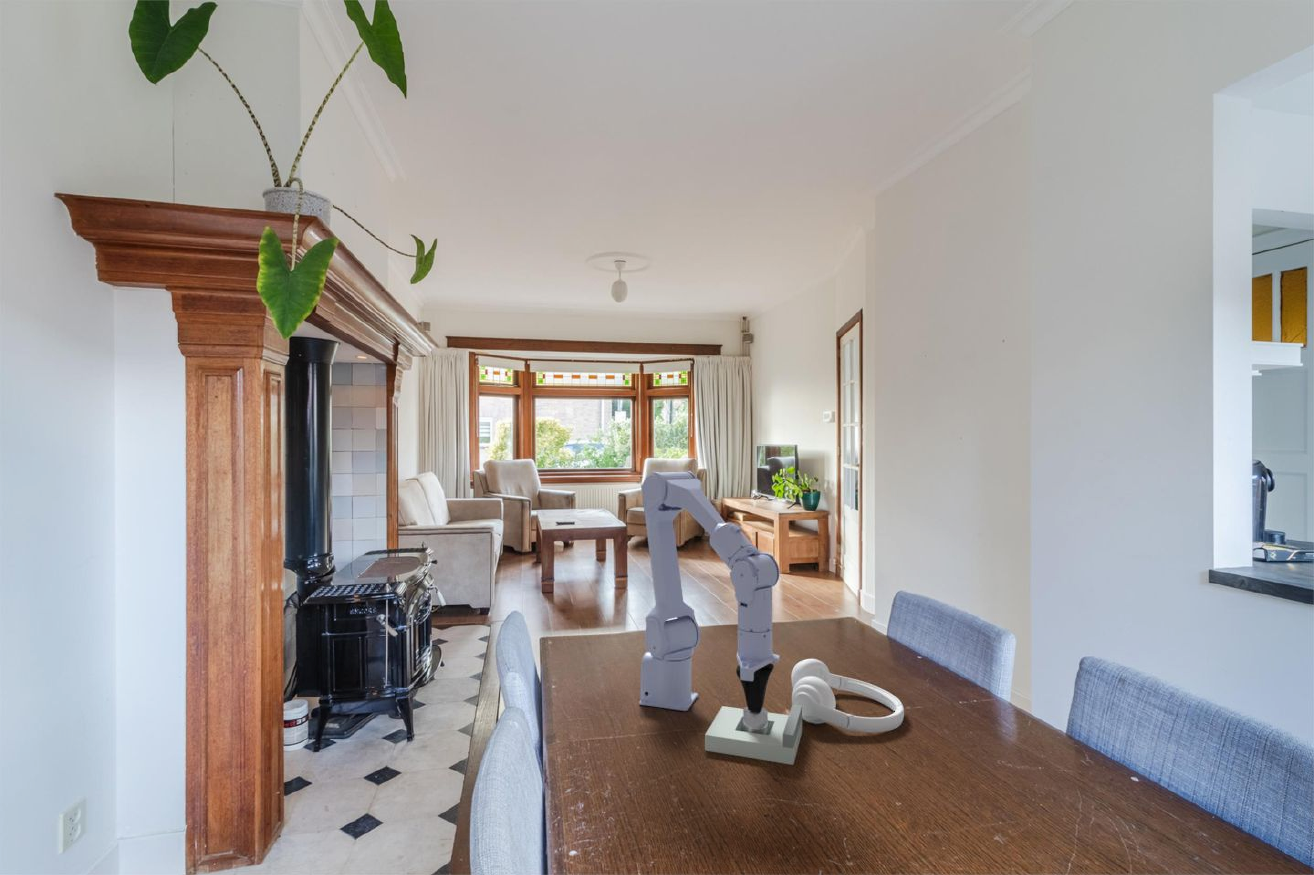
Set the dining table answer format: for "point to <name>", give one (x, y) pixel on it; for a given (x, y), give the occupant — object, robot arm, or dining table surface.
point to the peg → (755, 721)
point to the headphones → (820, 703)
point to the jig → (756, 736)
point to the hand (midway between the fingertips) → (755, 709)
